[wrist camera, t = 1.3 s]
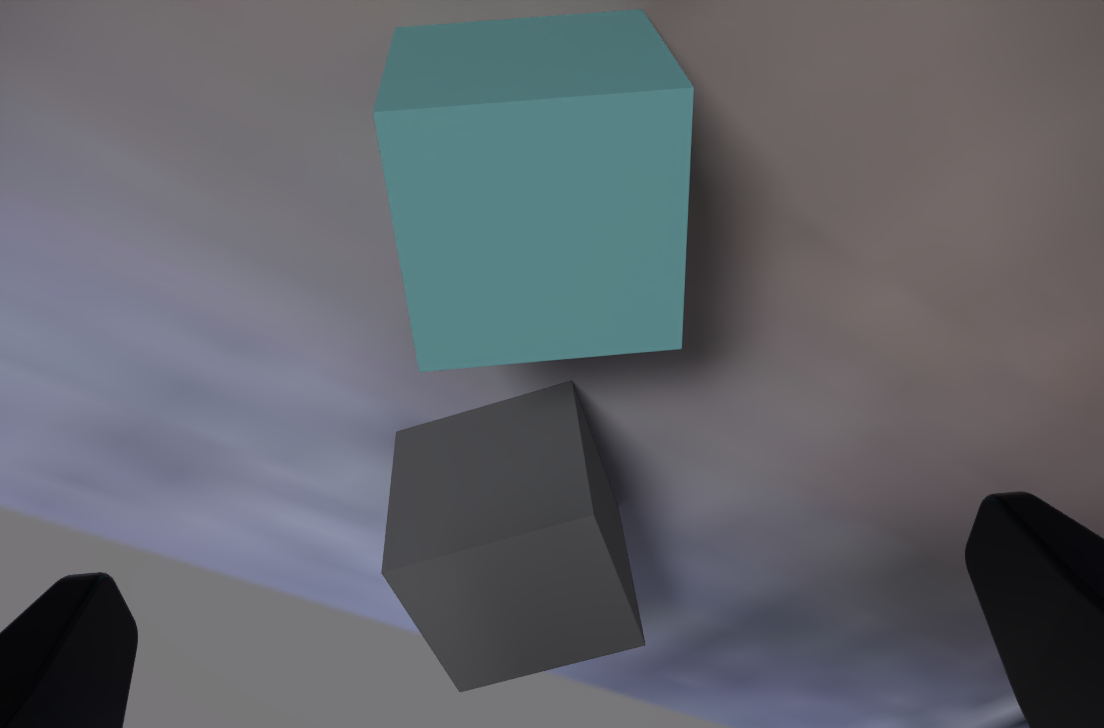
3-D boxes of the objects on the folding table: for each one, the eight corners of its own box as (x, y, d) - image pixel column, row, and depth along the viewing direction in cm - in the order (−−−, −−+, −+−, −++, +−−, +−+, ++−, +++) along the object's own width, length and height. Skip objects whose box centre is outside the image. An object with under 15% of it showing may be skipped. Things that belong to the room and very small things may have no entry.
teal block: (641, 7, 17) (693, 87, 13) (639, 229, 20) (682, 348, 16) (395, 26, 17) (373, 112, 13) (429, 246, 20) (419, 371, 16)
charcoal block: (571, 379, 23) (593, 514, 19) (617, 503, 26) (645, 645, 22) (396, 429, 23) (381, 572, 19) (461, 546, 26) (459, 692, 22)
